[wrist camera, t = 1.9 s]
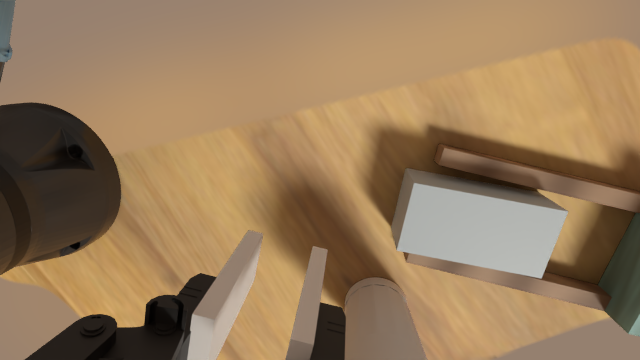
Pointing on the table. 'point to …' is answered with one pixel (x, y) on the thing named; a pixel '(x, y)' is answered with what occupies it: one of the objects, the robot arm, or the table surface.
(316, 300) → the robot arm
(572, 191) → the brown green u-shaped frame
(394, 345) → the cup
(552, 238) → the block
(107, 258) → the table surface
